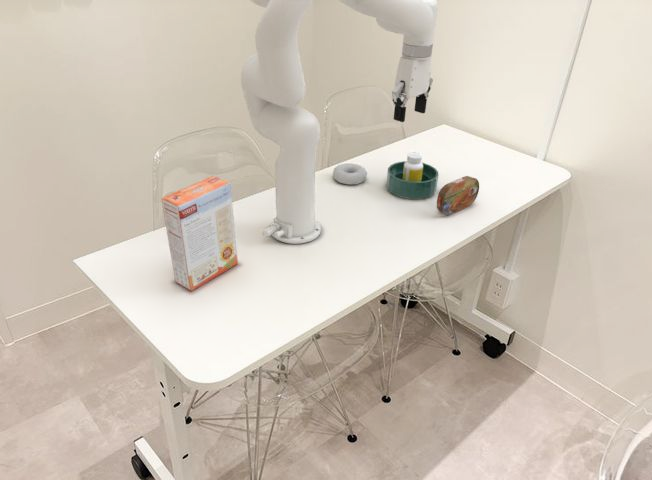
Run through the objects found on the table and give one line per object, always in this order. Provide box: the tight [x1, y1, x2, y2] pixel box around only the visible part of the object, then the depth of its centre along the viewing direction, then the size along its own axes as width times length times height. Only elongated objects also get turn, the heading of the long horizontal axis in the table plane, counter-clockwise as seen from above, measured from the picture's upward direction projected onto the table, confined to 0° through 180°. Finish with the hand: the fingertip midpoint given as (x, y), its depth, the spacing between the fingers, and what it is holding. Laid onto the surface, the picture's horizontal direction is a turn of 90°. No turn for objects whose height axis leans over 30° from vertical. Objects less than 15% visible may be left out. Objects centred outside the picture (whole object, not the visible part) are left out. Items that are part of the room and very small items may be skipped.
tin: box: [436, 175, 480, 216], centre depth 157 cm, size 15×3×8 cm, turn 129°
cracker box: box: [161, 175, 238, 292], centre depth 125 cm, size 14×6×21 cm, turn 141°
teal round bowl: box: [386, 160, 439, 200], centre depth 167 cm, size 14×14×6 cm
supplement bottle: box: [402, 152, 424, 182], centre depth 165 cm, size 5×5×10 cm
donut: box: [332, 162, 368, 185], centre depth 172 cm, size 10×4×10 cm
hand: (409, 116), depth 157 cm, fingers open, 9 cm apart
